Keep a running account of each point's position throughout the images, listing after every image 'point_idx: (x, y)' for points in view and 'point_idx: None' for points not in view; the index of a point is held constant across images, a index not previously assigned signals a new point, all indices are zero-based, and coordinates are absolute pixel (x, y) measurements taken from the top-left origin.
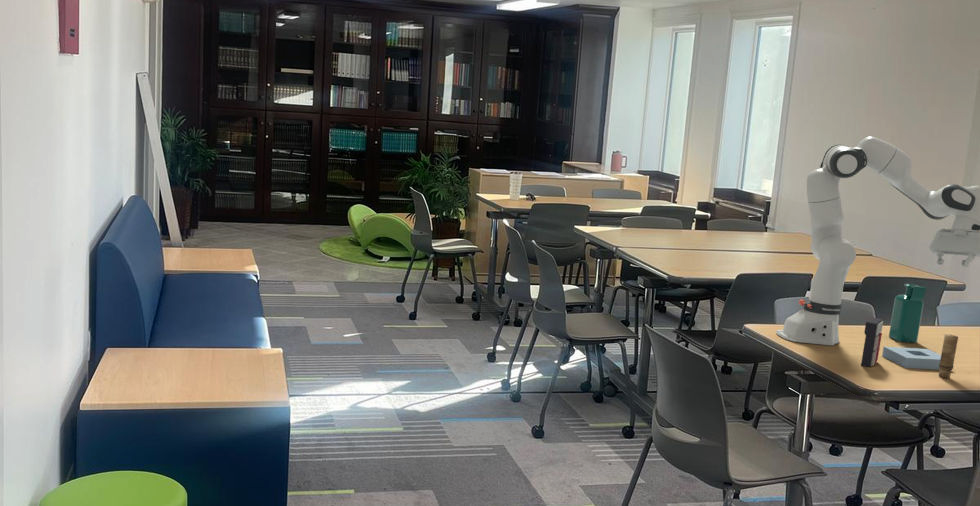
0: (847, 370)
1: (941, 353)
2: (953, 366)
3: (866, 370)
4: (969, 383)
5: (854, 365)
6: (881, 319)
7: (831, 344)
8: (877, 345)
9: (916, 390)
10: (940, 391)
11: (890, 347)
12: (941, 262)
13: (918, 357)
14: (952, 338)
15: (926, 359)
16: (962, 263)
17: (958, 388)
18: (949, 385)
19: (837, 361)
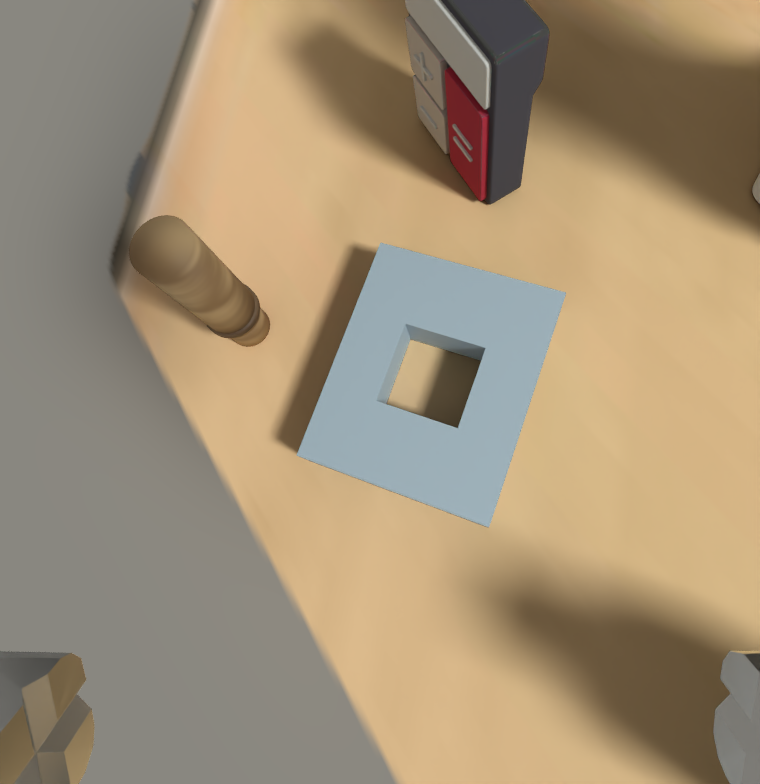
0: None
1: (232, 273)
2: (206, 324)
3: (394, 72)
4: (164, 361)
5: None
6: (489, 46)
7: (756, 183)
8: (437, 93)
9: (180, 79)
10: (145, 154)
11: (545, 316)
12: (755, 733)
13: (372, 309)
14: (144, 229)
15: (346, 332)
16: (31, 660)
17: None
18: None
19: None
